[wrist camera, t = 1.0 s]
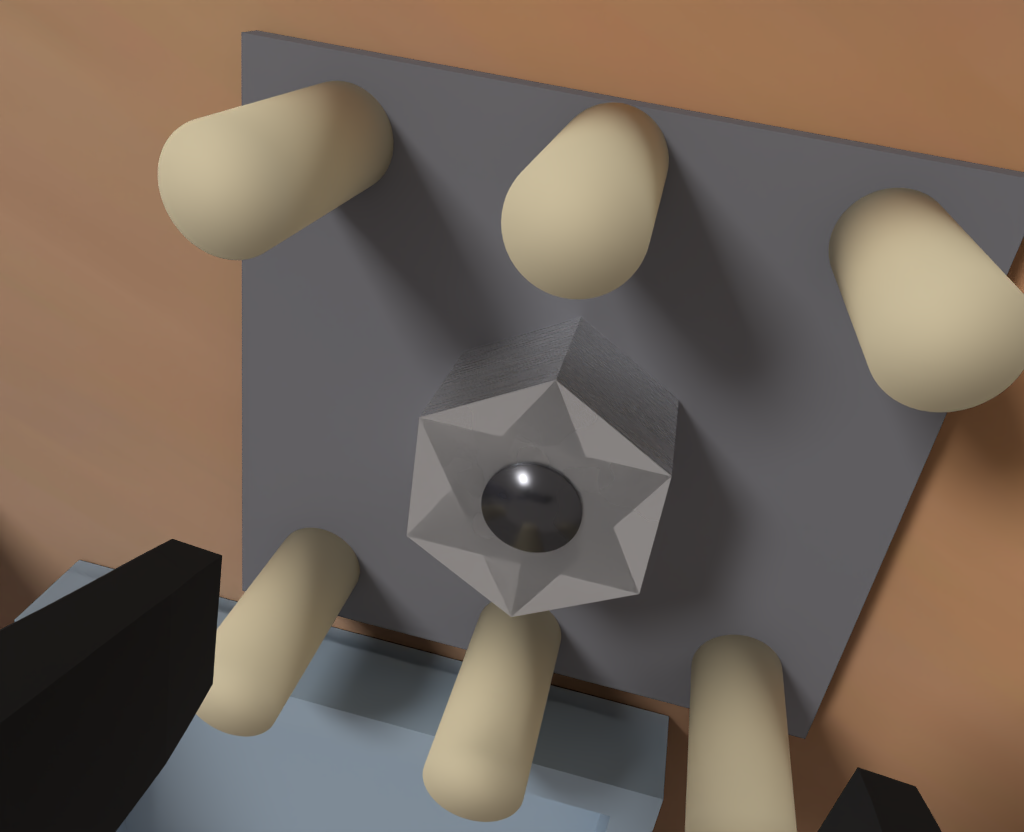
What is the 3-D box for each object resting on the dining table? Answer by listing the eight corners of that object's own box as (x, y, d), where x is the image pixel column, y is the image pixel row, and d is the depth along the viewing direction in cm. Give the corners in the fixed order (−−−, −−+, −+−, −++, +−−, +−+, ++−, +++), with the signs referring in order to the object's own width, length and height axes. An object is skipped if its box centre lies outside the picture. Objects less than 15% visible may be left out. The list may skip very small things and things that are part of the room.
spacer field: (253, 576, 23) (139, 725, 18) (257, 30, 16) (83, 53, 12) (802, 720, 21) (825, 922, 17) (1035, 174, 15) (1171, 262, 10)
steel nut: (443, 506, 20) (399, 591, 17) (471, 292, 17) (425, 352, 15) (637, 553, 19) (624, 649, 16) (694, 341, 17) (689, 412, 14)
